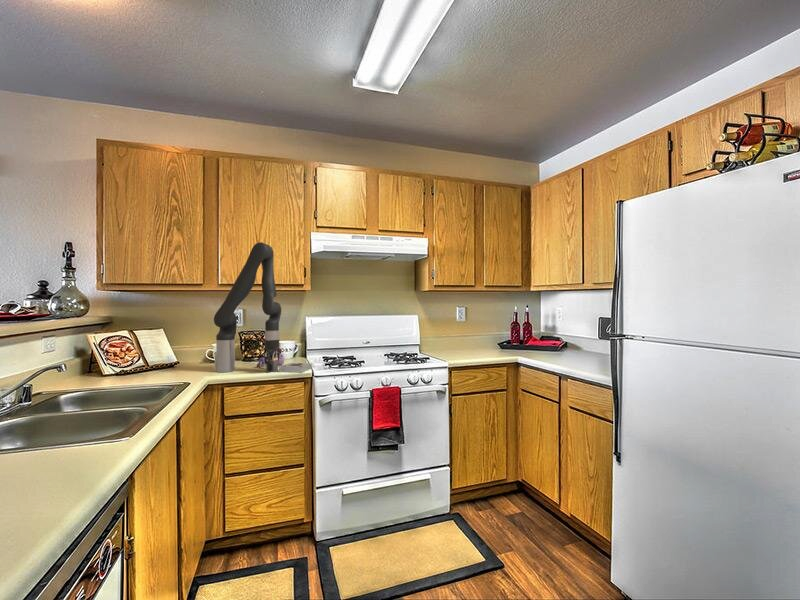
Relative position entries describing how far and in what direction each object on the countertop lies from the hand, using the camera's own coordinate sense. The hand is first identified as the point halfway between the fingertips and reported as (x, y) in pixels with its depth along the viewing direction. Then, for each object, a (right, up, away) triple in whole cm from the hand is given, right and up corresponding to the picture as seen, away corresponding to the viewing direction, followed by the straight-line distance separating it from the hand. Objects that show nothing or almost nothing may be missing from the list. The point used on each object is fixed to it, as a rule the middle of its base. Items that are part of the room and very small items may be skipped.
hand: (272, 370), depth 209 cm
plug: (0, -1, 0) cm, 1 cm away
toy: (-5, -1, +16) cm, 17 cm away
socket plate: (+12, -1, +4) cm, 13 cm away
